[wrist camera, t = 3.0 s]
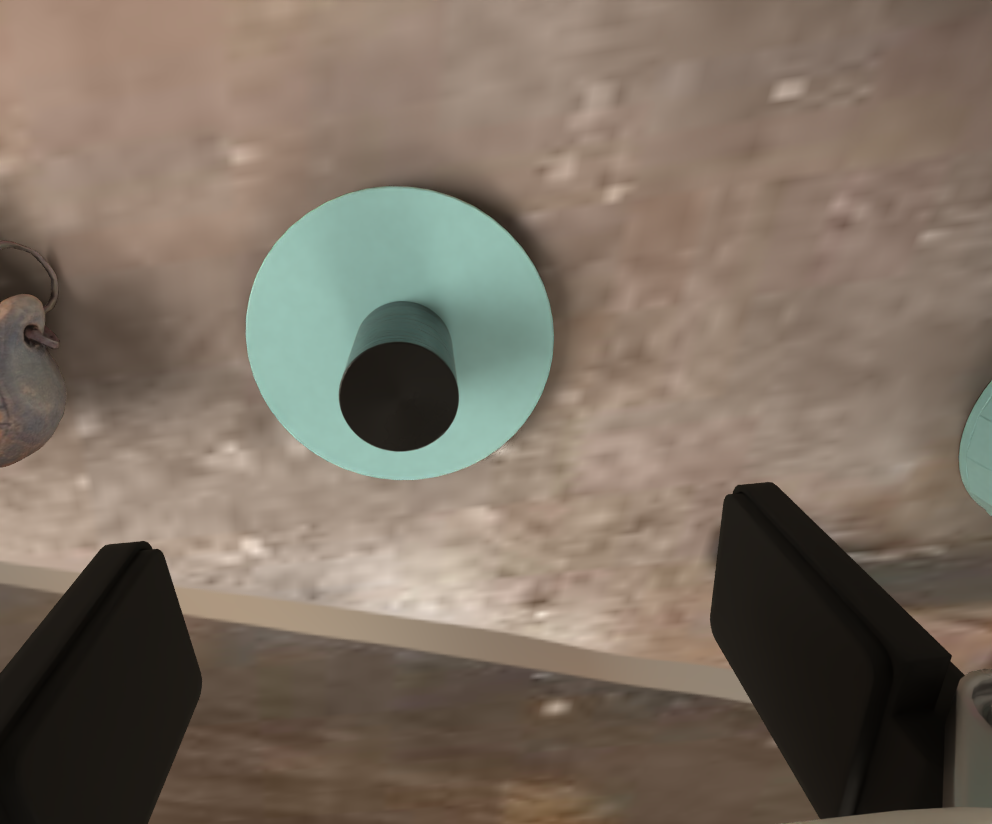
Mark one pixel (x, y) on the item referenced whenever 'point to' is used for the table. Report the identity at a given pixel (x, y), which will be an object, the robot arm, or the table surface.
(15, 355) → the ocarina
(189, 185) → the table surface
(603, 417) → the table surface
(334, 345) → the lid
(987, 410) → the canister
